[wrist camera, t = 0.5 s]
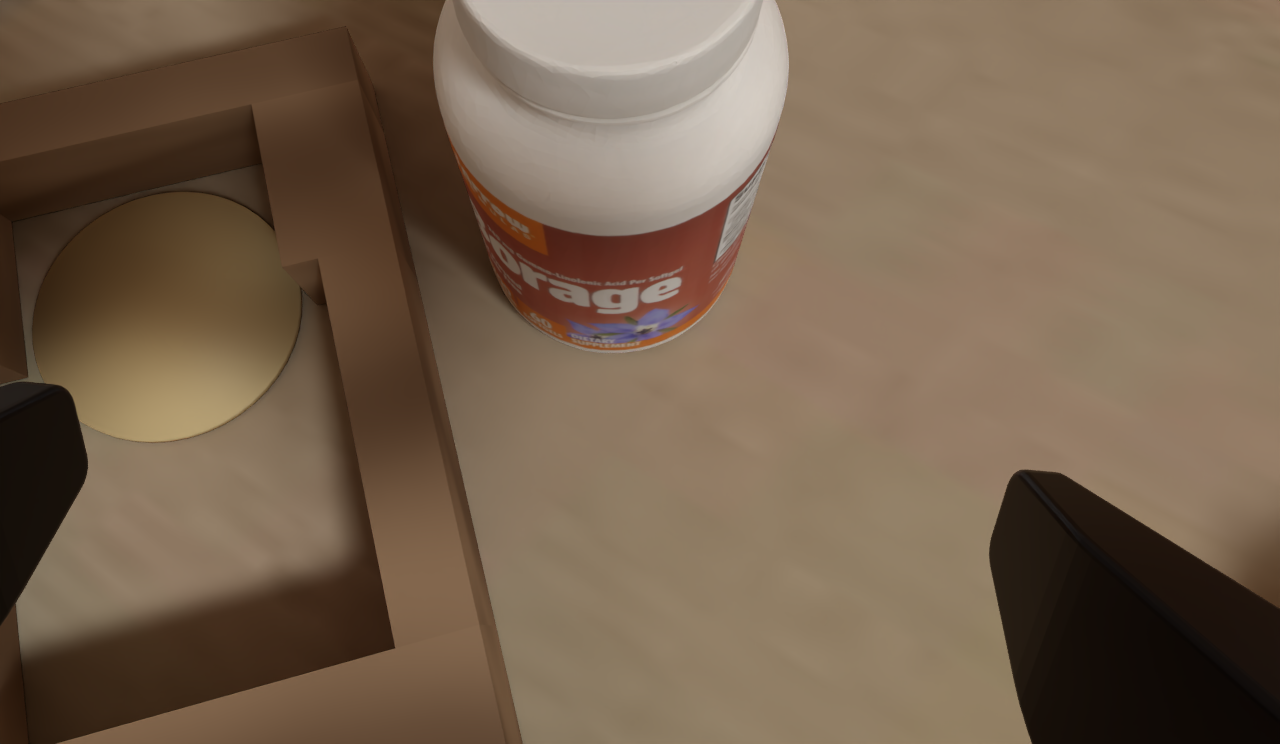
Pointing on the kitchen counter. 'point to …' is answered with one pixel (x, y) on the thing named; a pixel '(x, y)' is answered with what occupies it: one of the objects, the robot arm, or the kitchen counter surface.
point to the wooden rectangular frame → (258, 355)
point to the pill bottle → (611, 152)
